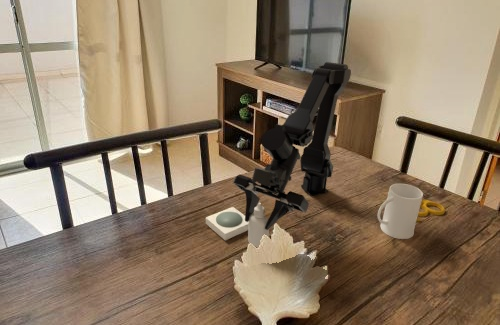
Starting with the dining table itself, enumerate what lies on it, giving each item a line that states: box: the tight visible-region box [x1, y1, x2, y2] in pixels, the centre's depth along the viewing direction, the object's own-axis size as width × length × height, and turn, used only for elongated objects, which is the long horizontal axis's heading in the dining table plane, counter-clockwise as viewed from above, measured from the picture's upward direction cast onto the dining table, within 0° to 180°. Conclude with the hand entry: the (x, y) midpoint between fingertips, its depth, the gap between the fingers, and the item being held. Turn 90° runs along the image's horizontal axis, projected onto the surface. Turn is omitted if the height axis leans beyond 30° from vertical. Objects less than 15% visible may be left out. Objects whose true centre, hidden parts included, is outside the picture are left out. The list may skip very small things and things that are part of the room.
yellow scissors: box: [416, 198, 446, 222], centre depth 108 cm, size 17×2×10 cm
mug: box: [377, 183, 424, 240], centre depth 96 cm, size 12×8×12 cm
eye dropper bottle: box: [247, 202, 270, 247], centre depth 89 cm, size 4×6×12 cm
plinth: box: [205, 206, 249, 241], centre depth 98 cm, size 9×9×2 cm
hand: (255, 225), depth 88 cm, fingers closed on eye dropper bottle, 5 cm apart
